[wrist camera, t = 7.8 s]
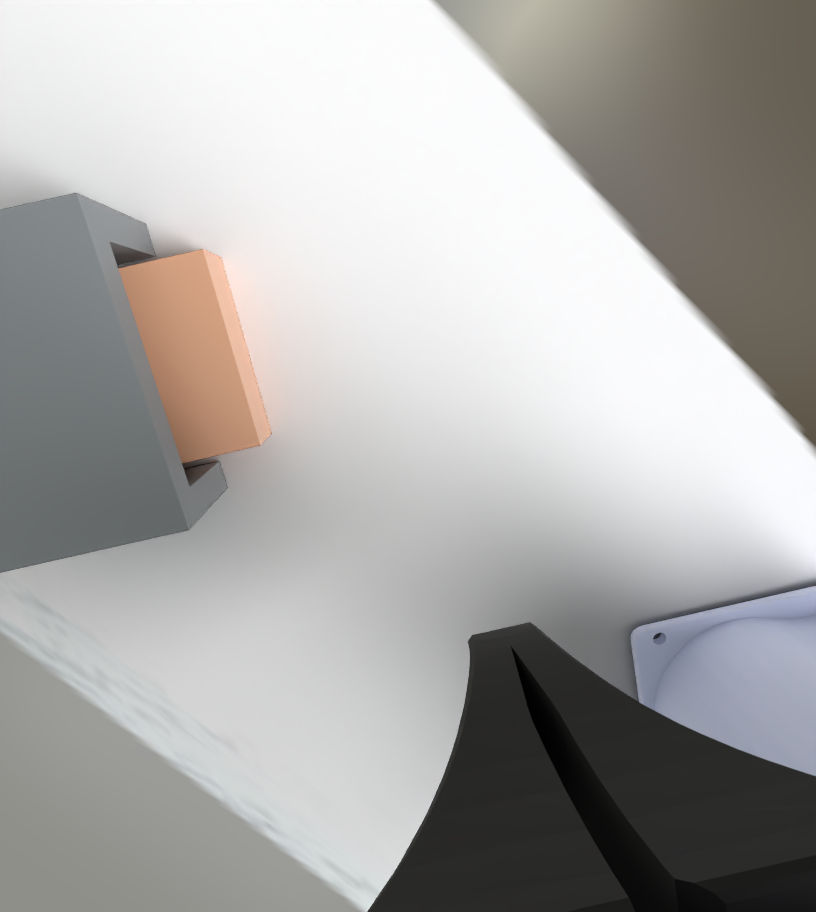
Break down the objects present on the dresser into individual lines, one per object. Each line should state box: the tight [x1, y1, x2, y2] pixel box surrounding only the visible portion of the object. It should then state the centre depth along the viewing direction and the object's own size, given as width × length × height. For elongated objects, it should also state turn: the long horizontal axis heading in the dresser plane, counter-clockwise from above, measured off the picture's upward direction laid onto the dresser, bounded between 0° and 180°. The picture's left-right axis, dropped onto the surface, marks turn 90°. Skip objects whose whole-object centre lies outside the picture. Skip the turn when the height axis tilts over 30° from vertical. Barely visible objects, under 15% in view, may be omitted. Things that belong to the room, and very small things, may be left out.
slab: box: [118, 249, 272, 463], centre depth 18 cm, size 8×6×2 cm
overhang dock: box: [0, 193, 227, 573], centre depth 17 cm, size 7×9×4 cm
